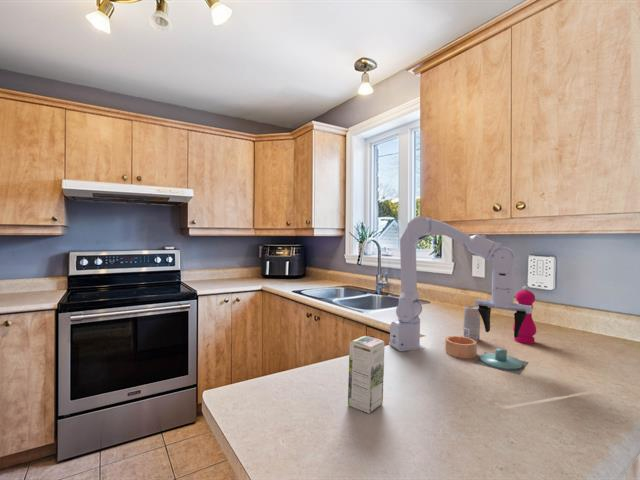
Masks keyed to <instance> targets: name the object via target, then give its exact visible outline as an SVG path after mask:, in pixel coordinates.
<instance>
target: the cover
mask: <svg viewBox="0 0 640 480" xmlns="http://www.w3.org/2000/svg"><path fill="white" fill-rule="evenodd" d="M494 349H495V353H493V352H490V353H489V352H486V354H484V353H482V354H481V355H480V356H479V357H480V360H481V361H482V362H483V363H484V364H486V365H489V366H491V367H495V368H499V369H506V370H517V369H521V368H522V362H521V361H522V360H521V359H519V358H516V357H514V356H511V355H507V354H508V350H507V349H505V348H502V347H496V348H494ZM520 360H521V361H520ZM491 367H490V368H491ZM495 368H494V369H495ZM499 369H498V370H499Z"/></svg>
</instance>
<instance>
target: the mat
mask: <svg viewBox="0 0 640 480" xmlns="http://www.w3.org/2000/svg"><path fill="white" fill-rule="evenodd" d="M486 353H487V352H485V351H484V353H483V354H486ZM519 360H520V361H521V362H522V368H521V369H517V370H506V369H499V368H495V367H491V366H489V365H486V364H484V363H483V362H482V361H481V360H480V356H479V357H478V358H477V359H476V360H474V361H473V362H472V363H473V364H475V365H480V366H484V367H488V368H492V369H496V370H498V371H499V370H500V371H503V372H507V373H511V374H515V375H520V374H521V373H522V371H523V370H524V369H525V368H526V367H527V365H528V364H529V361H526V360H521V359H519Z"/></svg>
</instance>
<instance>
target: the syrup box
mask: <svg viewBox="0 0 640 480" xmlns="http://www.w3.org/2000/svg"><path fill="white" fill-rule="evenodd" d="M348 355H349V357H348V385H347V386H348V389H347V393H348V394H347V405H348V406H349V407H351V408H352V409H356V410H358V411H361V412H363V411H364V413H366V412H367V414H369V413H370V414H371V413H373V412H374V411H375V410H377V409H378V408H379V407H380V406H382V405H383V403H384V402H383V401H384V400H383V399H384V374H385V373H384V371H385V370H384V369H385V340H381V339H379V338H376V337H373V336H367V335H363V336H360V337H358V338H356V339H353V340H351V341H349V354H348Z"/></svg>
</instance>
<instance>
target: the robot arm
mask: <svg viewBox="0 0 640 480" xmlns="http://www.w3.org/2000/svg"><path fill="white" fill-rule="evenodd" d="M431 235H443V236H446V237H447V238H450V239H452V240H454V241H457V242H459V243H461V244H463V245H465V247H466V249H467V251H468V252H470V253H471V254H474V255H476V256H477V257H480V258H482V259H483V260H486V261H491V263H492V273H491V300H490V299H479V298H477V299H475V307H479V308H478V311H479V313H480V318H481V319H482V322H483V325H484V330H485V332H486V333H489V332H490V331H491V313H492V309H497V310H505V311H511V312H515V313H513V316H514V318H513V319H514V322H515V329H514V330H513V336H514V337H516V338H517V337H518V336H519V331H520V328H521V325H522V323H523V321H524V319H525V317H526V316H527V314H530V313H532V312H531V306H527V305H522V304H517V303H515V302H514V296H515V293H514V292H515V272H514V270H515V267H514V263H515V259H516V255H515V252H514V251H513V250H512V249H511V248H509V247H508V246H502V245H503V243H501V242H495V241H493V240H490V239H488V238H486V237H487V235H485V234H481V235H480V234H474V235H471V234H468V233H466V232H464V231H462V230H461V229H460V230H459V229H458V228H456V227H454V226H452V225H451V224H448V223H446V222H443V221H440V220H437V219H433V218H431V217H429V216H428V217H426V216H423V215H422V216H421V215H418V216H415V217H413V218H412V219H411V220H410V221H409V222H408V223H407V225H406V228H405V229H404V232H403V233H402V236H401V237H400V239H399V245H400V246H399V248H400V249H399V251H400V253H399V254H400V291H401V292H400V294H399V298H398V304H397V307H396V309H395V314H396V316H397V318H398V319H397V320H395V321H392V322H391V324H390V327H389V342H388V345H390V346H391V347H393V348H394V349H396V350H398V351H399V352H409V351H410V350H413V351H414V350H422V349H426V347H425V346H423V345H422V344H421V343H420V342H421V341H420V339H421V319H420V317H419V316H420V315H421V314H422V313H423V305H422V303H421V302H420V295H419V293H418V287H417V286H418V285H417V284H418V283H417V282H418V281H417V280H418V279H417V277H418V275H417V245H418V244H419V243H420V242H422V240H423V239H425V238H427V237H429V236H431ZM514 337H513V338H514Z"/></svg>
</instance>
